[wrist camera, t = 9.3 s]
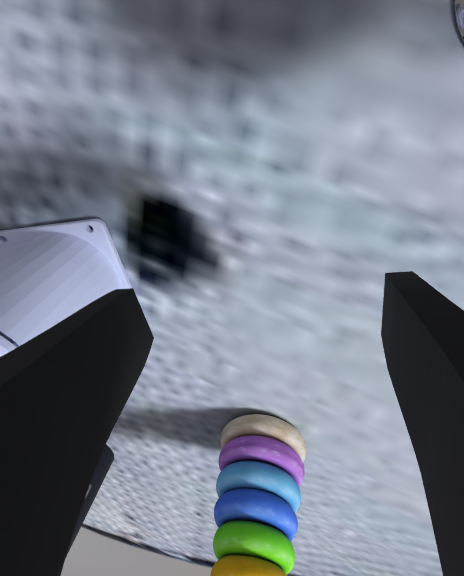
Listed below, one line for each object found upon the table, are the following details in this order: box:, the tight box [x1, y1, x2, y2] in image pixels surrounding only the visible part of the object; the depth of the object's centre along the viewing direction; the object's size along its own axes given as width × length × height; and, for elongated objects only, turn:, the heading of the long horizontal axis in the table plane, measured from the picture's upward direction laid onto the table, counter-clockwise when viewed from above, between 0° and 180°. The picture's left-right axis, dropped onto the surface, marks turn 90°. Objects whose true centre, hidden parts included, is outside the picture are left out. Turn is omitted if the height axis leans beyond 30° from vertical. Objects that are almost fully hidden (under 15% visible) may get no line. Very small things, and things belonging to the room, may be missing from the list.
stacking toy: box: [211, 414, 306, 576], centre depth 24 cm, size 8×8×19 cm
